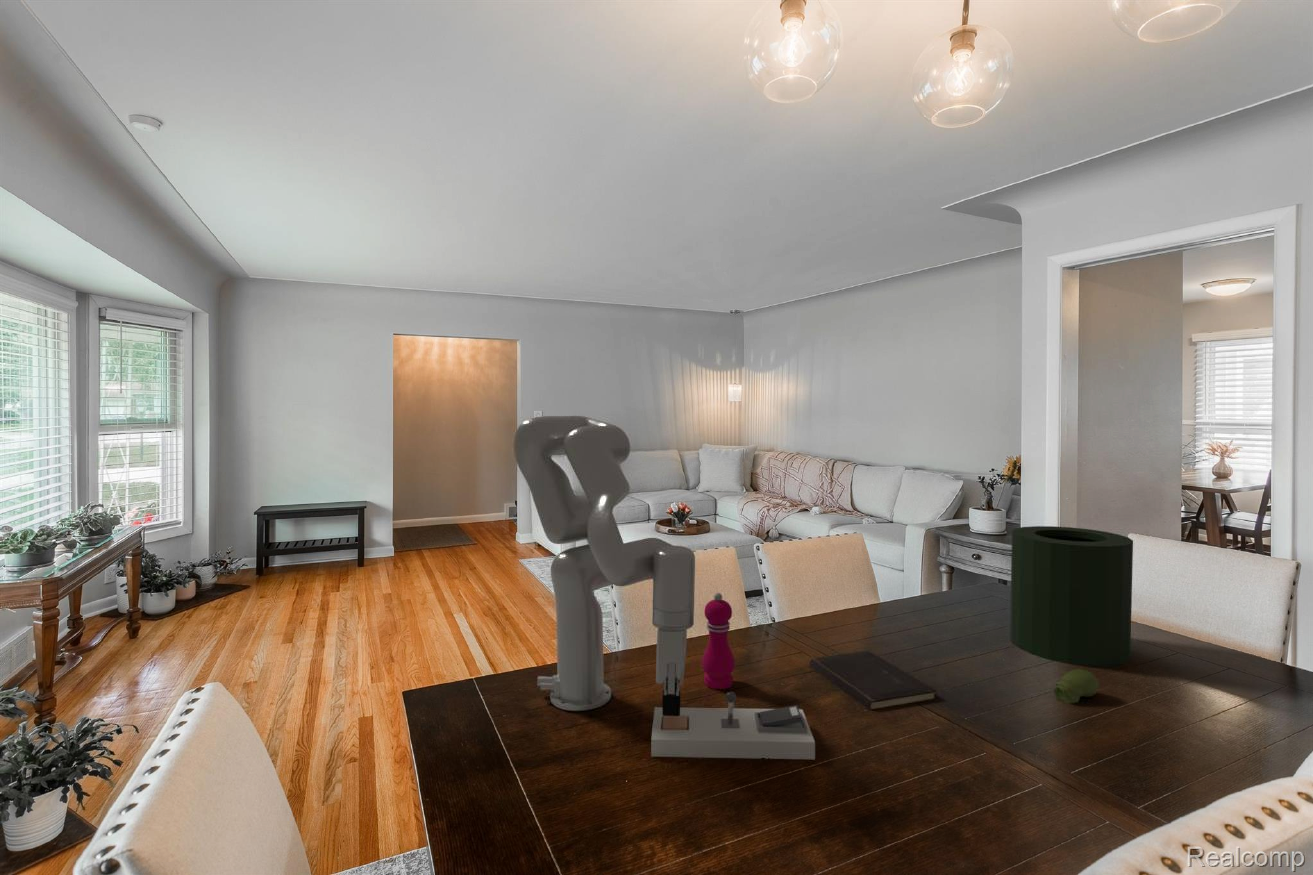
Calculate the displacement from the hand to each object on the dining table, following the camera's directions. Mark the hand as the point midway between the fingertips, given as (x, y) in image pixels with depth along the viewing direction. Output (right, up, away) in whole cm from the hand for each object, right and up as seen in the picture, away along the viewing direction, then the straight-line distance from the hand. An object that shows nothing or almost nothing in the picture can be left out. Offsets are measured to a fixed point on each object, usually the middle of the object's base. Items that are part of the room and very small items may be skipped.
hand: (671, 713), depth 117 cm
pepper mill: (+11, -4, +23) cm, 26 cm away
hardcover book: (+44, -4, +24) cm, 50 cm away
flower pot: (+100, -2, +43) cm, 109 cm away
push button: (+1, -4, 0) cm, 4 cm away
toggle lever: (+11, -1, -1) cm, 11 cm away
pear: (+84, -3, +15) cm, 85 cm away
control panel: (+11, -4, -1) cm, 12 cm away
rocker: (+20, 0, -1) cm, 20 cm away
